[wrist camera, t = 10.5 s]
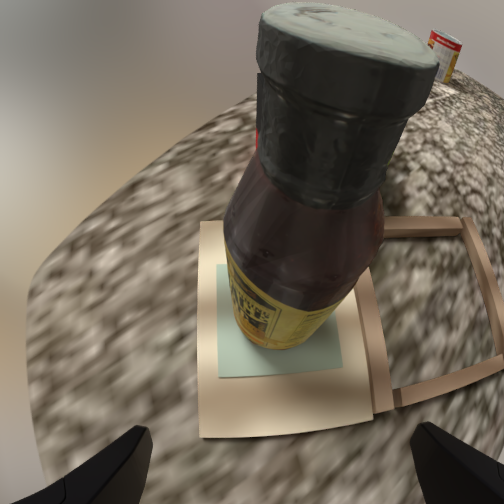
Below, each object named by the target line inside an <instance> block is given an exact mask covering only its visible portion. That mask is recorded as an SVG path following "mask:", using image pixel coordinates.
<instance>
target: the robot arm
mask: <svg viewBox="0 0 504 504" xmlns="http://www.w3.org/2000/svg"><path fill="white" fill-rule="evenodd" d="M410 446H411V450H412V455H413V459H414V464H415V469H416V473H417V477H418V480H419V483H420V486H421V489H422V492H423V496H424V499H425V502H426V504H504V465H503V464H501V463H500V462H497V461H496V460H494V459H492V458H491V457H489V456H487V455H485V454H484V453H482V452H480V451H478V450H476V449H475V448H473V447H471V446H470V445H468V444H466V443H464V442H463V441H461V440H459V439H458V438H456V437H454V436H453V435H451V434H449V433H448V432H446V431H444V430H443V429H441V428H439V427H438V426H436V425H434V424H433V423H431V422H428V421H427V422H423V423H419V424H418V425H417V427H416V429H415V431H414V433H413V435H412V437H411V439H410ZM152 449H153V442H152V438H151V435H150V431H149V428H148V427H145V426H140V425H135V426H134V427H132V428H131V429H130V430H128V431H127V432H126V433H124V434H123V435H122V436H120V437H119V438H118V439H116V440H115V441H114V442H112V443H111V444H109V445H108V446H107V447H105V448H104V449H103V450H101V451H100V452H98V453H97V454H96V455H94V456H93V457H91V458H90V459H89V460H87V461H86V462H84V463H83V464H81V465H80V466H79V467H77V468H76V469H74V470H73V471H71V472H70V473H68V474H67V475H65V476H64V478H63V477H62V478H61V479H59V480H58V481H56V482H54V483H53V484H51V485H49V486H48V487H46V488H45V489H43V490H40V491H39V492H37V493H35V494H32V495H30V496H28V497H26V498H23V499H21V500H19V501H16V502H14V503H12V504H139V502H140V499H141V496H142V493H143V490H144V487H145V483H146V478H147V473H148V468H149V463H150V458H151V453H152Z"/></svg>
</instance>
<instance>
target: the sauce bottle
mask: <svg viewBox="0 0 504 504" xmlns="http://www.w3.org/2000/svg"><path fill="white" fill-rule="evenodd" d="M256 49H257V50H256V60H257V63H258V65H259V68H260V71H261V73H262V75H263V77H264V85H263V95H262V119H261V131H260V133H259V135H258V140H257V144H258V147H257V149H256V151H255V153H254V155H253V157H252V158H251V160H250V162H249V164H248V166H247V168H246V170H245V172H244V174H243V176H242V178H241V180H240V182H239V184H238V186H237V188H236V190H235V192H234V194H233V196H232V198H231V200H230V202H229V204H228V206H227V208H226V211H225V214H224V219H223V234H224V245H225V251H226V258H227V269H228V277H229V286H230V291H231V298H232V305H233V311H234V317H235V320H236V323H237V325H238V327H239V328H240V330H241V332H242V333H243V334H244V335H245V336H246V337H247V338H248V339H249V340H250V341H251V342H252V343H253V344H256V345H259V346H262V347H265V348H267V349H272V350H286V349H289V348H292V347H295V346H297V345H299V344H301V343H303V342H305V341H306V340H307V339H308V338H309V337H310V336H311V335H312V334H313V333H314V332H315V331H316V330H317V329H318V328H319V327H320V325H322V324H323V322H324V321H325V320H326V319H327V318H328V317H329V316H330V315H331V314H332V312H333V311H334V310H335V309H336V308H337V307H338V306H339V304H340V303H341V302H342V301H343V300H344V299H345V297H346V296H347V295H348V294H349V293H350V292H351V290H352V289H353V288H354V286H355V285H356V283H357V281H358V279H359V277H360V276H361V275H362V273H363V272H364V271H365V270H366V269H367V268H368V267H369V265H370V263H371V262H372V261H373V259H374V257H375V256H376V254H377V251H378V249H379V247H380V245H381V244H382V242H383V235H384V224H385V217H384V210H383V200H382V197H381V194H380V190H379V186H380V185H381V184H382V183H383V182H384V180H385V176H386V171H387V169H388V163H389V161H390V159H391V157H392V155H393V152H394V150H395V148H396V146H397V144H398V142H399V140H400V137H401V135H402V132H403V130H404V128H405V126H406V123H407V121H408V119H409V118H410V117H412V116H413V115H414V114H415V113H416V112H418V111H419V110H420V109H421V108H422V107H423V106H424V105H425V103H426V101H427V98H428V96H429V94H430V91H431V88H432V86H433V82H434V79H435V76H436V74H437V71H438V69H439V66H440V63H439V60H438V57H437V55H436V53H435V52H434V51H433V50H432V49H431V48H430V47H429V46H428V45H427V44H426V43H424V42H423V41H422V40H421V39H420V38H418V37H417V36H415V35H413V34H412V33H410V32H408V31H407V30H405V29H403V28H401V27H399V26H397V25H396V24H394V23H392V22H389V21H387V20H384V19H382V18H380V17H377V16H373V15H370V14H367V13H364V12H361V11H357V10H355V9H349V8H345V7H342V6H335V5H329V4H322V3H310V2H309V3H308V2H306V3H305V2H303V3H296V2H293V3H286V4H280V5H277V6H274V7H272V8H270V9H269V10H267V11H266V12H264V13H262V16H261V19H260V22H259V33H258V42H257V48H256Z"/></svg>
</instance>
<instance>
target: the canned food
mask: <svg viewBox="0 0 504 504" xmlns="http://www.w3.org/2000/svg"><path fill="white" fill-rule="evenodd" d="M428 46H429V47H430V48H431V49H432V50H433V51H434V52H435V53H436V55H437V57H438V60H439V63H440V66H439V69H438V71H437V74H436V76H435V79H434V80H436V81H438V82H440V83H444V84H448V83H449V80H450V77H451V75H452V72H453V70H454V67H455V64H456V61H457V59H458V56H459V53H460V50H461V47H462V43H461V42H459V41H458V40H457V39H455V38H454V37H452V36H450V35H448V34H446V33H444V32H442V31H439V30H437V29H432V31H431V35H430V38H429V41H428Z"/></svg>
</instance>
